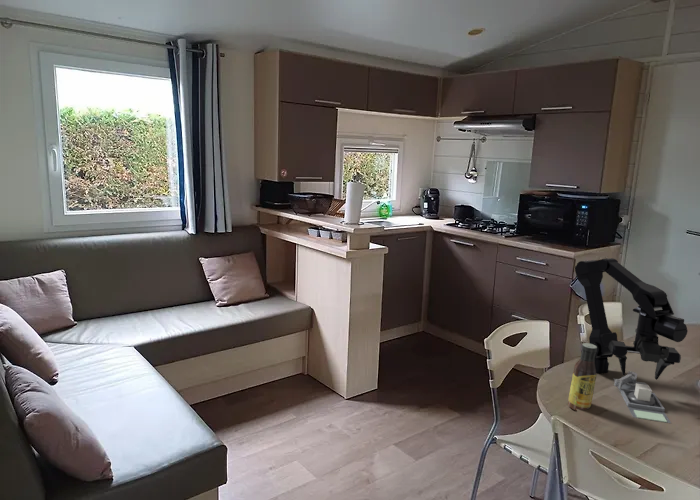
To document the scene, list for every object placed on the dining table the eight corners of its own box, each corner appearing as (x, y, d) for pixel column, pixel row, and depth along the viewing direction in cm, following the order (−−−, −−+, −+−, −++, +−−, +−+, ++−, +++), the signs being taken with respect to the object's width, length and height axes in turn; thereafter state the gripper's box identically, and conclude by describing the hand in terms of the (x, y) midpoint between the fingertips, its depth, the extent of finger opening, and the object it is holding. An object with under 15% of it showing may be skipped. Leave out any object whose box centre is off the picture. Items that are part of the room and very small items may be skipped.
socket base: (632, 420, 147) (633, 414, 146) (612, 381, 170) (613, 375, 170) (670, 427, 144) (672, 419, 144) (645, 386, 168) (646, 380, 167)
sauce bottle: (576, 414, 149) (586, 350, 145) (562, 403, 155) (571, 342, 150) (595, 411, 151) (605, 349, 146) (581, 401, 157) (590, 340, 152)
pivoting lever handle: (612, 388, 162) (613, 379, 161) (629, 379, 169) (630, 370, 168) (620, 391, 160) (622, 382, 159) (637, 382, 167) (638, 373, 166)
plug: (631, 405, 153) (634, 390, 152) (625, 393, 160) (628, 379, 159) (657, 408, 151) (660, 394, 150) (650, 397, 158) (653, 383, 157)
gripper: (620, 335, 151) (612, 384, 154) (691, 343, 147) (682, 393, 150) (611, 322, 162) (604, 368, 165) (678, 330, 157) (669, 377, 160)
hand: (639, 376), depth 160 cm, fingers open, 9 cm apart
